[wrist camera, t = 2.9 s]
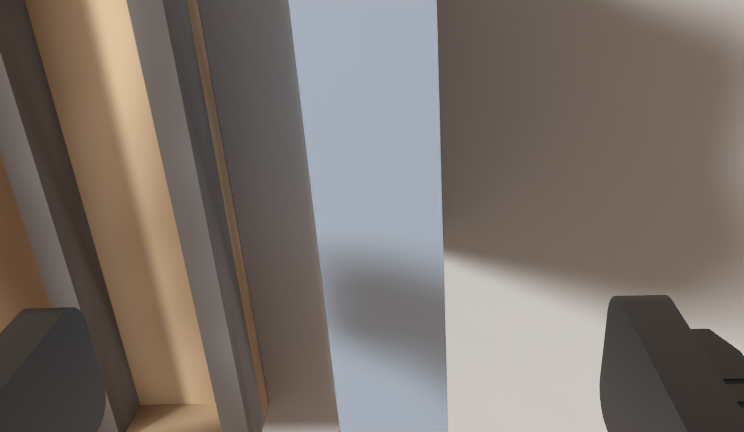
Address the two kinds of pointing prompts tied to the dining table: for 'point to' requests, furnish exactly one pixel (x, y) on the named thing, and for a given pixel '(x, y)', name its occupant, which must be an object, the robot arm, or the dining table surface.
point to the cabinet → (127, 208)
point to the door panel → (377, 204)
